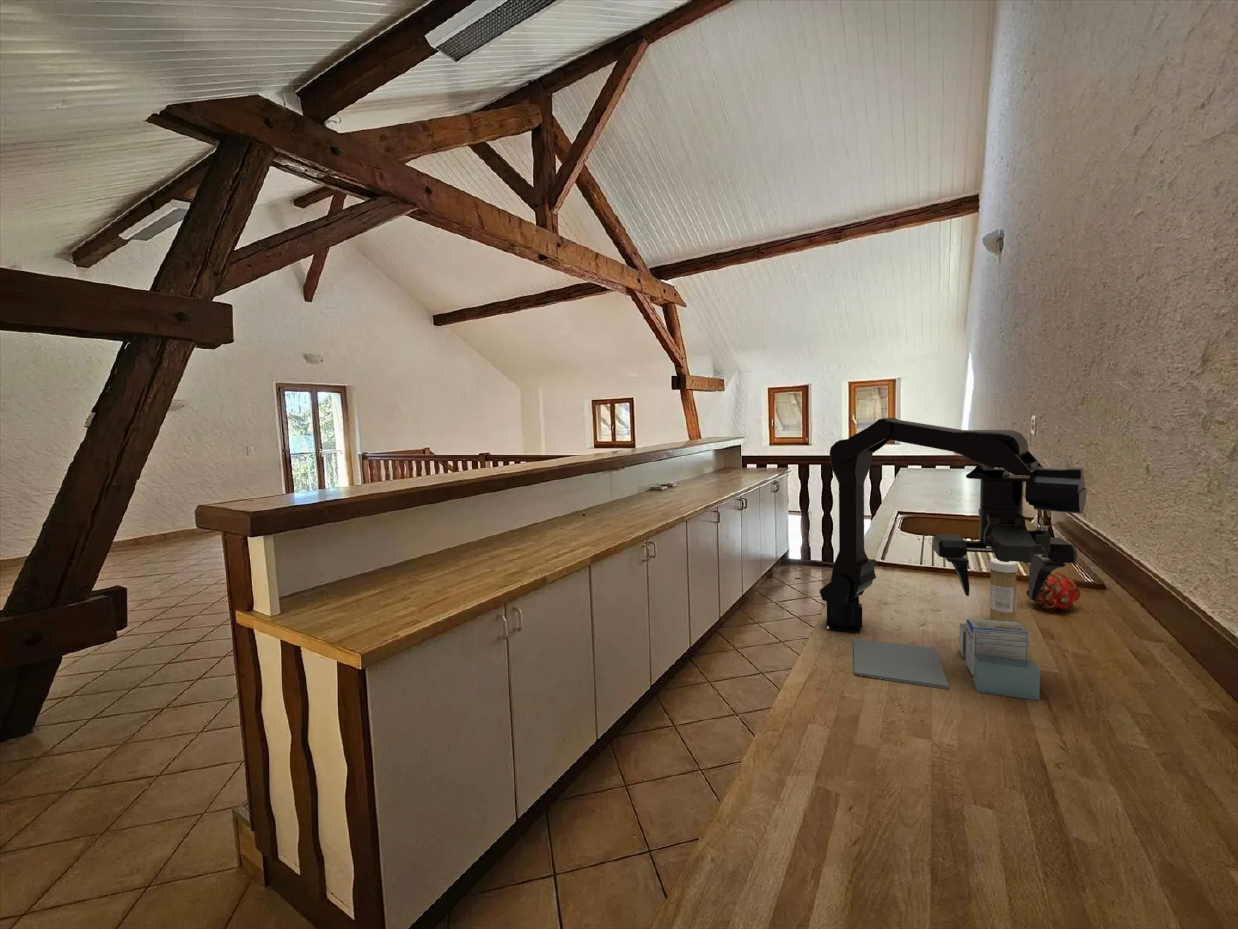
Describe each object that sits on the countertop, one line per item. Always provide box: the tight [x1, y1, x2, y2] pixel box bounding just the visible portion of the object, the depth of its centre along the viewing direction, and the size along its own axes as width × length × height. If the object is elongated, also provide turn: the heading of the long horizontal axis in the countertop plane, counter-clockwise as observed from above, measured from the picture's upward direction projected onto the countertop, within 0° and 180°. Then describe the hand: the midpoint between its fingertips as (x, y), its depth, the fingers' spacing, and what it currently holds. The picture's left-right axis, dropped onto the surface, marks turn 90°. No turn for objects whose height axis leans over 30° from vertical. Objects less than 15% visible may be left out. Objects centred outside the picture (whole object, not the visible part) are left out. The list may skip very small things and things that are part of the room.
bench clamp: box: [958, 622, 1041, 701], centre depth 91 cm, size 8×21×5 cm, turn 156°
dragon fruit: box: [1025, 571, 1081, 612], centre depth 113 cm, size 8×8×12 cm
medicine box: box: [965, 618, 1031, 676], centre depth 88 cm, size 8×4×9 cm, turn 71°
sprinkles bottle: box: [988, 557, 1019, 622], centre depth 106 cm, size 5×5×14 cm
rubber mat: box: [853, 637, 950, 690], centre depth 93 cm, size 14×14×1 cm
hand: (998, 597), depth 88 cm, fingers open, 9 cm apart
